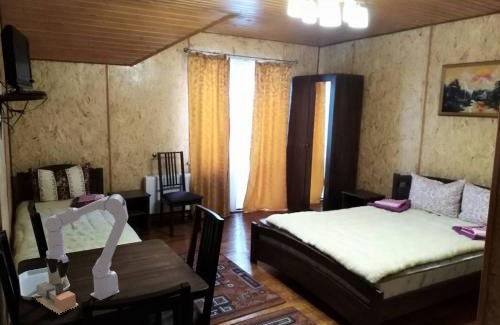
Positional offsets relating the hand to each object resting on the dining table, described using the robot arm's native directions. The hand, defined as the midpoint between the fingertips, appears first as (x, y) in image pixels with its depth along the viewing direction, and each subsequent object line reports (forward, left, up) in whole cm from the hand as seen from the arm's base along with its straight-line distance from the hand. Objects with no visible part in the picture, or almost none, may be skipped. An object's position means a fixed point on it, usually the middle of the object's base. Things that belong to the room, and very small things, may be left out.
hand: (58, 274), depth 160 cm
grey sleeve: (+3, -5, -10) cm, 12 cm away
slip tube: (+3, +4, -9) cm, 10 cm away
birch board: (+3, +2, -10) cm, 11 cm away
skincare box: (-7, -16, -11) cm, 20 cm away
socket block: (+3, +11, -10) cm, 15 cm away
